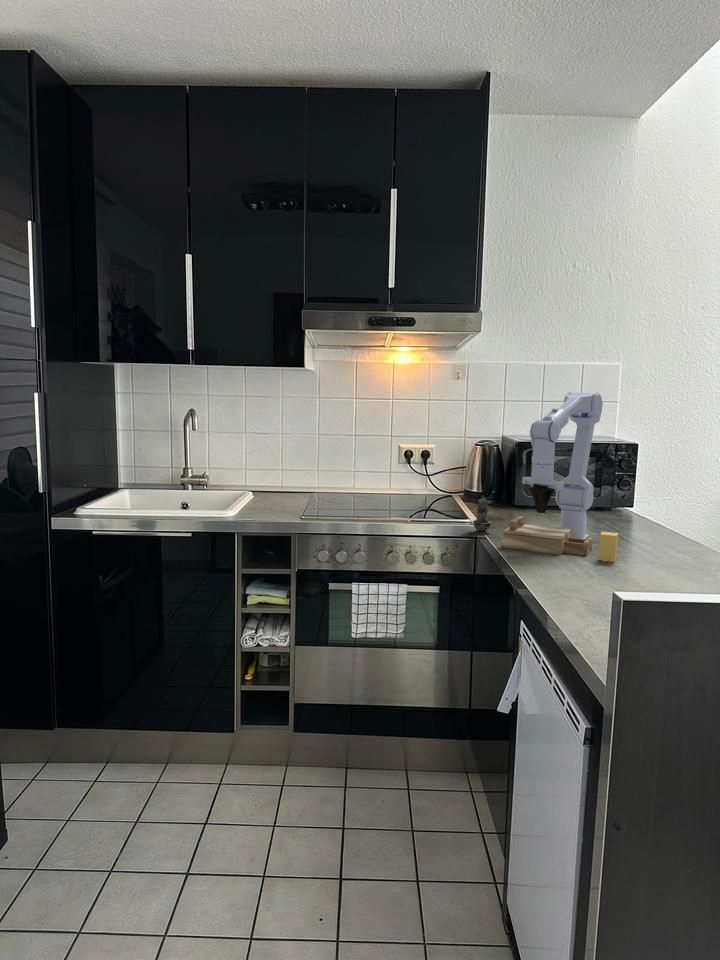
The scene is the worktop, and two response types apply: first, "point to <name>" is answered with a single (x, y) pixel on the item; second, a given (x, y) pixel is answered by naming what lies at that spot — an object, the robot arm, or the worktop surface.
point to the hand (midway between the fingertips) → (540, 512)
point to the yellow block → (608, 546)
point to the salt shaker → (482, 518)
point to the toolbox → (548, 544)
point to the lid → (535, 529)
